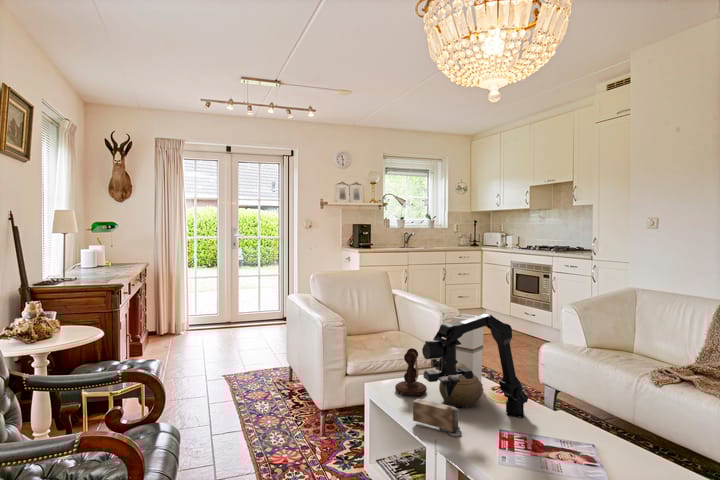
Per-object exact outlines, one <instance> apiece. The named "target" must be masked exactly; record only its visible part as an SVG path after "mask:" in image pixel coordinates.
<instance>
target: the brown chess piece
mask: <svg viewBox="0 0 720 480" xmlns="http://www.w3.org/2000/svg"><path fill="white" fill-rule="evenodd" d="M418 358H419V352H418V351H417V349H415V348H409V349H407V351H406V353H405V354H404V356H403V360H404V362H405V363H406V364H407V368H406V371H405V373H404V376H403V379H404V381H403V380H402V381H400V382H398V383H396V384H395V386H394V387H395V391H396V392H397V393H398V395H401V394H404V395H409V396H411V395H413V396H415V395H416V396H417V395H418V397H419V398H420V397H421V395H422V394H425V393H426V392H427V390H428V389H427V385H426V384H424V383H423V382H420V381H417V380H418V378H419V367H418Z"/></svg>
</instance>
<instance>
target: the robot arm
mask: <svg viewBox="0 0 720 480" xmlns="http://www.w3.org/2000/svg"><path fill="white" fill-rule="evenodd" d="M476 316H477V317H474V318H471V319H467V320H464V321H461V322H452V321H450V322H444V323H442V324H440V327H439V328H438V329H439V330H438V331H437V332H436V334H435V335H434V337H433V340H425V343H424V344H423V346H422V349H421V351H422V356H423V358H424V359H425V360H430V367H431V368H434V369H435V370H436V371H435V370H434V369H430V370H429V369H427V370H426V369H425V370H424V372H423V379H425V380H426V381H427V382H429V383H434V382H435V383H436V382H438V381H439V382H440V381H441V382H442V384H443V386H444V389H445V392H446V395H447V397H450V395H451V393H452V391H453V389H454V387H455V386H456V384H457V383H458V382H460V380H459V379H458V376H464V377H465V378H466V379H473V372H472V371H471V370H470V369H468V368H458V371H456V364H457V363H458V361H457V360H456V345H461V343H460V342H459V341H458V338H460V337H461V336H462V335H463V334H464V333H466V332H469V331H472V330H475V329H478V328H481V327H483V328H484V327H486V328H488V329H489V330H490V333H491V336H492V338H493V339H494V341H495V343H496V344H497V348H498V354H499V359H500V365H501V369H502V370H501V371H502V375H503V376H502V378H501V380H498V384H499V390H500V391H501V392H502V393H503V396H504V397H505V398H507V400H505V401H506V402H505V413H506V416H508V417H509V416H510V417H517V418H522V419H523V418H524V417H525V416H524V415H525V410H524V404H525V403H527V402H528V401H529V396H528V395H527V394H526V393H525V391H524V389H523V386H522V384H521V381H520V380H519V378H518V377H517V376H516V370H515V364H514V359H513V354H512V348H511V341H512V340H513V329H512V326H511V325H510V324H509V323H505V322H503V321H501V320H499V319H498V318H496V317H494V316H493V315H492V314H488V313H482V314H480V315H476ZM437 359H439V360H437ZM437 370H438V371H439V372H437Z"/></svg>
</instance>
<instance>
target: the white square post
mask: <svg viewBox="0 0 720 480" xmlns="http://www.w3.org/2000/svg"><path fill="white" fill-rule="evenodd" d="M460 316H461V317H458V316H451V322H461V321H464V320H467V319H471V318H474V317H477V316H478V315H473V314H467V313H461V314H460ZM458 341H459V342H460V343H461V345H456V360H457V361H458V363H461V364H464V365H465V366H466V367H467V368H468V369H470V370H471V371H472V372H473V374H474V375H476V376H477V378H478V379H479V381H480V382H481V384H482V389H483V388H484V387H483V382H482V379H483V378H482V377H483V375H482V371H483V370H482V369H483V366H482V365H483V352H484V327H481V328H478V329H475V330H472V331H469V332H466V333H464V334H463V335H462V336H461V337H460V338H458ZM458 363H457V364H458Z"/></svg>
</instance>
